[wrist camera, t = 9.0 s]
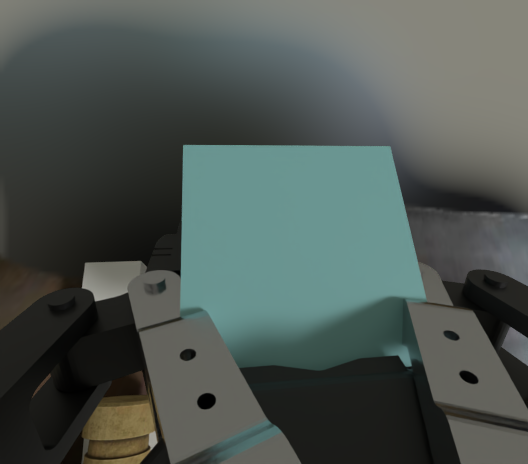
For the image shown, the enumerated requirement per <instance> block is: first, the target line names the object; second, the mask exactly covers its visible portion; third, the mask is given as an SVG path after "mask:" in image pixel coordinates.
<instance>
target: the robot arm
mask: <svg viewBox="0 0 528 464" xmlns="http://www.w3.org/2000/svg"><path fill="white" fill-rule="evenodd" d="M181 241H182V221H180V224H179V228H178V231H177V234H167V235H165V236H163V237H162V238H161V239H159V240H158V241H157V243H156V246H155V250H154V251H153V254H152V256H151V259H150V262H149V264H148V267H147V269H146V272H145V273H143V274H140V275H138V276H137V277H135V278H134V279H132V280H131V281H130V282H129V284H128V287H127V290H128V292H127V293H125V294H122V295H120V296H116V297H112V298H108V299H104V300H100V301H95V299H94V295H93V293H92V292H91V291H90V290H88V289H84V288H67V289H62V290H58V291H55V292H52V293H50V294H47V295H45V296H43V297H42V298H40V299H39V300H37V301H36V302H35V303H33V304H32V305H31V306H30V307H28V308H27V309H26V310H25V311H23V312H22V313H21V314H20V315H19V316H17V317H16V318H15V319H14V320H12V321H11V322H10V323H9V324H7V325H6V326H5V327H4V328H3V329H1V330H0V464H60V463H61V462H62V460H63V459H64V457H65V456H66V454H67V453H68V451H69V449H70V448H71V446H72V445H73V443H74V442H75V440H76V439H77V437H78V435H79V434H80V432H81V431H82V429H83V428H84V426H85V425H86V423H87V421H88V420H89V418H90V417H91V415H92V414H93V412H94V410H95V409H96V407H97V406H98V404H99V403H100V401H101V400H102V398H103V396H104V395H105V393H106V392H107V390H108V389H109V387H110V385H111V383H112V380H114V379H117V378H120V377H123V376H126V375H129V374H132V373H135V372H138V371H141V370H142V373H143V377H144V382H145V386H146V391H147V395H148V400H149V405H150V409H151V414H152V418H153V423H154V428H155V433H156V438H157V444H156V445H155V446H154V447H153V449H152V450H151V451H150V452H149V453H148V454H147V456H146V457H145V458H144V459H143V460H142V461H141V463H140V464H528V366H527V365H525V364H524V363H523V362H521V361H520V360H519V359H517V358H516V357H514V356H513V355H512V354H510V353H509V352H507V351H506V350H505V349H503V348H502V347H501V346H502V344H503V342H504V339H505V337H506V335H507V332H508V330H509V328H510V327H512V328H514V329H515V330H517V331H518V332H520V333H521V334H523V335H524V336H526V337H527V338H528V286H526V285H524V284H522V283H520V282H518V281H516V280H515V279H513V278H511V277H509V276H506V275H504V274H501V273H498V272H494V271H489V270H472V271H470V272H469V273H468V274H467V277H466V280H465V283H464V284H463V283H455V282H448V281H441V279H440V277H439V275H438V273H437V272H436V271H435V270H434V269H432V268H431V267H429V266H427V265H425V264H422V263H419V262H418V265H419V270H420V274H421V278H422V282H423V286H424V291H425V295H426V299H427V302H424V301H417V300H410V299H403V325H402V345H403V346H407V349H408V352H409V357H410V361H411V365H412V366H409V367H406V366H405V365H404V363H403V362H402V360H401V359H400V357H399V356H398V355H395V356H382V357H370V358H359V359H356V360H353V361H350V362H347V363H343V364H340V365H337V366H334V367H331V368H328V369H325V370H320V371H317V370H308V369H300V368H293V367H285V366H277V365H270V366H257V367H244V368H238V366H237V364H236V362H235V360H234V359H233V357H232V355H231V353H230V351H229V350H228V348H227V346H226V344H225V342H224V341H223V339H222V337H221V335H220V333H219V332H218V330H217V328H216V326H215V324H214V323H213V321H212V319H211V317H210V315H209V314H208V312H207V311H206V310H202V311H199V312H195V313H192V314H188V315H184V316H181V317H180V291H181ZM49 373H50V374H51V377H50V378H49V379H48V381H47V382H46V383H45V384H44V385H43V386H42V388H41V389H40V390H39V391H38V392H37V393H36V394H35V396H34V397H33V398H32V396H33V394H34V392H35V390H36V389H37V387H38V386H39V385H40V384H41V382H42V381H43V380H44V379H45V378H46V377H47V376H48V375H49ZM31 398H32V399H31Z"/></svg>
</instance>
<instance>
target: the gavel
mask: <svg viewBox="0 0 528 464" xmlns="http://www.w3.org/2000/svg"><path fill="white" fill-rule="evenodd" d="M154 431H155V428H154V423H153V418H152V414H151V409H150V405H149V400H148V395H127V396H114V397H105V398H102V400H101V401H100V403H99V404H98V406H97V407H96V409H95V410H94V412H93V414H92V415H91V417H90V418H89V420H88V421H87V423H86V425H85V426H84V428H83V431H82V437H83V438H85V439H89V446H88V452H87V453H85V455H84V461H83V464H140V463H141V461H142V460H143V459H144V458H145V457H146V456H147V454H148V453H149V452H150V450H151V447H150V446H149V434H150V433H152V432H154Z"/></svg>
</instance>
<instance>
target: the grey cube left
mask: <svg viewBox="0 0 528 464" xmlns="http://www.w3.org/2000/svg"><path fill="white" fill-rule="evenodd" d="M146 269H147V267H146V266H145V265H144V264H143V263H142V262H141V261H126V262H97V263H96V262H93V263H85V270H84V277H83V284H82V288H84V289H88V290H90V291H91V292H92V293H93V295H94V299H95V301H100V300H104V299H108V298H112V297H116V296H120V295H122V294H125V293H127V292H128V290H127V287H128V284H129V282H130V281H131V280H132V279H134V278H135V277H137V276H138V275H140V274H143V273H145V272H146Z"/></svg>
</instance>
